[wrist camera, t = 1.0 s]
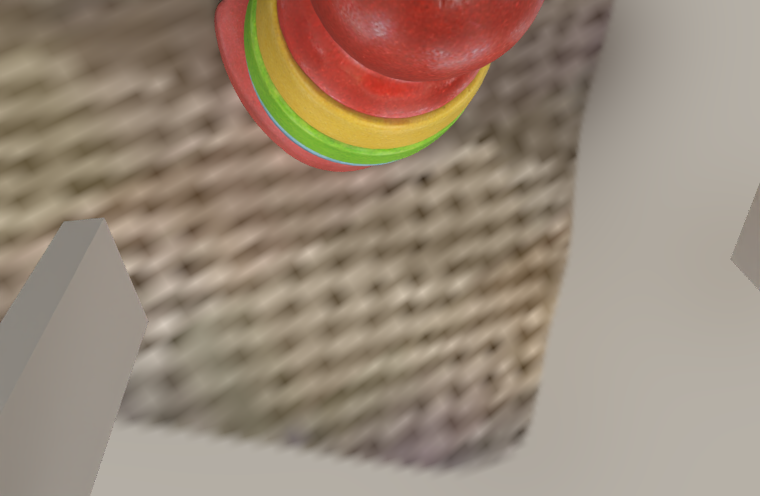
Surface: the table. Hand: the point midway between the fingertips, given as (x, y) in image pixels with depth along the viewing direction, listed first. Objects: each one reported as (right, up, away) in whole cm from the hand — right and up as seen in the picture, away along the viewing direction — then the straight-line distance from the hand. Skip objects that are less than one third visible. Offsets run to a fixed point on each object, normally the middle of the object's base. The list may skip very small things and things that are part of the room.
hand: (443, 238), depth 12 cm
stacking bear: (-4, +9, +18) cm, 20 cm away
